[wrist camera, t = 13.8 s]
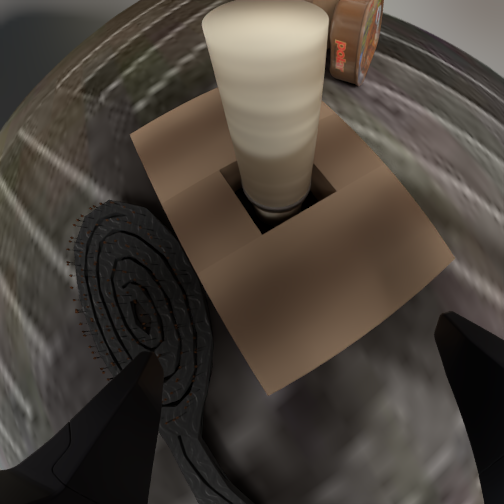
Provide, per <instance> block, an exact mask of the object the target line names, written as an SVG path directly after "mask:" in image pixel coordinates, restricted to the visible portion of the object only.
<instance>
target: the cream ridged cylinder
mask: <svg viewBox="0 0 504 504" xmlns="http://www.w3.org/2000/svg"><path fill="white" fill-rule="evenodd" d="M328 25H329V17H328V15H327V13H326V12H325V11H324V10H323V9H322V8H320V7H318V6H317V5H315V4H312V3H310V2H307V1H304V0H235V1H232V2H229V3H226V4H224V5H221V6H219V7H217V8H215V9H214V10H212V11H211V12H209V13H208V14H207V15H206V16H205V17H204V19H203V21H202V27H203V31H204V35H205V39H206V43H207V46H208V50H209V54H210V58H211V62H212V65H213V69H214V73H215V77H216V81H217V85H218V89H219V92H220V96H221V100H222V104H223V108H224V112H225V116H226V120H227V124H228V127H229V131H230V135H231V139H232V143H233V147H234V151H235V155H236V159H237V163H238V167H239V171H240V175H241V181H242V187H243V191H244V193H245V195H246V197H247V198H248V200H249V201H250V202H251V203H252V204H253V207H254V211H255V213H256V215H257V217H258V218H259V219H260V220H261V221H262V222H264V223H266V224H268V225H271V226H278V225H280V224H282V223H284V222H285V221H287V220H289V219H290V218H292V217H294V216H295V215H297V214H299V213H300V211H301V206H302V203H303V201H304V200H305V199H306V197H307V195H308V193H309V191H310V187H311V174H312V168H313V161H314V154H315V147H316V139H317V132H318V124H319V116H320V108H321V99H322V90H323V81H324V71H325V61H326V50H327V38H328Z"/></svg>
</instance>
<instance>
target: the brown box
mask: <svg viewBox="0 0 504 504" xmlns="http://www.w3.org/2000/svg"><path fill="white" fill-rule="evenodd" d="M130 136H131V139H132V141H133V143H134V146H135V148H136V150H137V152H138V155H139V157H140V159H141V161H142V164H143V166H144V168H145V170H146V172H147V175H148V177H149V179H150V181H151V183H152V185H153V187H154V190H155V192H156V194H157V196H158V198H159V200H160V202H161V204H162V206H163V208H164V211H165V213H166V215H167V217H168V219H169V221H170V223H171V225H172V227H173V229H174V231H175V233H176V235H177V237H178V239H179V241H180V243H181V245H182V247H183V248H184V250H185V252H186V254H187V256H188V258H189V260H190V262H191V264H192V266H193V268H194V270H195V271H196V273H197V275H198V277H199V279H200V281H201V283H202V284H203V286H204V288H205V290H206V292H207V294H208V295H209V297H210V299H211V301H212V303H213V304H214V306H215V308H216V310H217V312H218V313H219V315H220V317H221V319H222V320H223V322H224V324H225V326H226V327H227V329H228V331H229V333H230V334H231V336H232V338H233V339H234V341H235V343H236V344H237V346H238V348H239V350H240V351H241V353H242V355H243V356H244V358H245V360H246V361H247V363H248V364H249V366H250V368H251V369H252V371H253V373H254V374H255V376H256V378H257V379H258V381H259V382H260V384H261V386H262V387H263V389H264V390H265V392H266V393H267V395H268V396H269V395H271V394H273V393H274V392H276V391H278V390H280V389H281V388H283V387H285V386H287V385H288V384H290V383H292V382H294V381H295V380H297V379H299V378H300V377H302V376H304V375H305V374H307V373H308V372H310V371H312V370H313V369H315V368H316V367H318V366H320V365H321V364H323V363H324V362H326V361H327V360H329V359H330V358H332V357H333V356H335V355H336V354H338V353H339V352H341V351H342V350H344V349H345V348H347V347H348V346H350V345H351V344H352V343H354V342H355V341H357V340H358V339H360V338H361V337H362V336H364V335H365V334H366V333H368V332H369V331H370V330H372V329H373V328H374V327H376V326H377V325H378V324H380V323H381V322H382V321H384V320H385V319H386V318H388V317H389V316H390V315H391V314H393V313H394V312H395V311H396V310H398V309H399V308H400V307H401V306H402V305H404V304H405V303H406V302H407V301H409V300H410V299H411V298H412V297H413V296H414V295H416V294H417V293H418V292H419V291H420V290H421V289H423V288H424V287H425V286H426V285H427V284H428V283H429V282H430V281H432V280H433V279H434V278H435V277H436V276H437V275H438V274H439V273H440V272H441V271H442V270H443V269H445V268H446V267H447V266H448V265H449V264H450V263H451V262H452V261H453V260H454V259H455V257H454V256H453V254H452V253H451V251H450V249H449V248H448V246H447V245H446V243H445V242H444V240H443V239H442V237H441V236H440V234H439V233H438V231H437V230H436V229H435V227H434V226H433V224H432V223H431V221H430V220H429V219H428V217H427V216H426V215H425V213H424V212H423V210H422V209H421V208H420V206H419V205H418V204H417V203H416V201H415V200H414V199H413V197H412V196H411V195H410V194H409V192H408V191H407V190H406V189H405V187H404V186H403V185H402V184H401V182H400V181H399V180H398V179H397V178H396V176H395V175H394V174H393V173H392V172H391V170H390V169H389V168H388V167H387V166H386V165H385V164H384V162H383V161H382V160H381V159H380V158H379V157H378V156H377V155H376V154H375V152H374V151H373V150H372V149H371V148H370V147H369V146H368V145H367V144H366V143H365V142H364V141H363V140H362V139H361V138H360V137H359V136H358V135H357V134H356V133H355V131H354V130H353V129H352V128H351V127H350V126H348V125H347V124H346V123H345V122H344V121H343V120H342V119H341V118H340V117H339V116H338V115H337V114H336V113H335V112H334V111H333V110H332V109H331V108H330V107H328V106H327V105H326V104H325V103H324V102H323V101H322V100H321V108H320V116H319V124H318V132H317V139H316V147H315V154H314V161H313V168H312V174H311V187H310V191H311V192H312V194H313V195H314V196H315V197H316V199H317V200H318V201H319V202H318V203H316V204H314V205H313V206H311V207H309V208H307V209H306V210H304V211H302V212H301V213H299V214H297V215H295V216H294V217H292V218H290V219H289V220H287V221H285V222H284V223H282V224H280V225H278V226H277V227H275V228H273V229H272V230H270V231H268V232H267V233H265V234H263V235H262V234H261V232H260V231H259V229H258V228H257V226H256V225H255V223H254V222H253V220H252V219H251V217H250V216H249V214H248V213H247V211H246V210H245V208H244V207H243V205H242V204H241V202H240V201H239V199H238V198H237V196H236V195H235V193H234V192H235V191H237V190H238V189H240V188H242V181H241V175H240V171H239V167H238V163H237V159H236V155H235V151H234V147H233V143H232V139H231V135H230V131H229V127H228V124H227V120H226V116H225V112H224V108H223V104H222V100H221V96H220V92H219V89H218V87H217V88H215V89H213V90H211V91H209V92H207V93H205V94H203V95H200V96H198V97H196V98H194V99H192V100H190V101H188V102H186V103H184V104H183V105H181V106H179V107H177V108H175V109H173V110H171V111H169V112H168V113H166V114H164V115H162V116H160V117H159V118H157V119H155V120H153V121H152V122H150V123H148V124H147V125H145V126H143V127H142V128H140V129H138V130H137V131H135V132H133V133H132V134H130Z"/></svg>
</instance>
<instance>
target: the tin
mask: <svg viewBox="0 0 504 504" xmlns="http://www.w3.org/2000/svg"><path fill="white" fill-rule="evenodd" d="M383 3H384V0H339V1H338V3H337V5H336V7H335V10H334V13H333V17H332V21H331V27H330V43H331V54H330V68H329V71H330V74H331V76H333V77H334V78H336V79H339V80H343V81H347V82H350V83H353V84H356V85H357V86H361V85H362V83H363V81H364V78H365V76H366V73H367V71H368V68H369V65H370V63H371V60H372V57H373V55H374V52H375V49H376V46H377V43H378V39H379V34H380V28H381V21H382V14H383Z"/></svg>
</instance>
